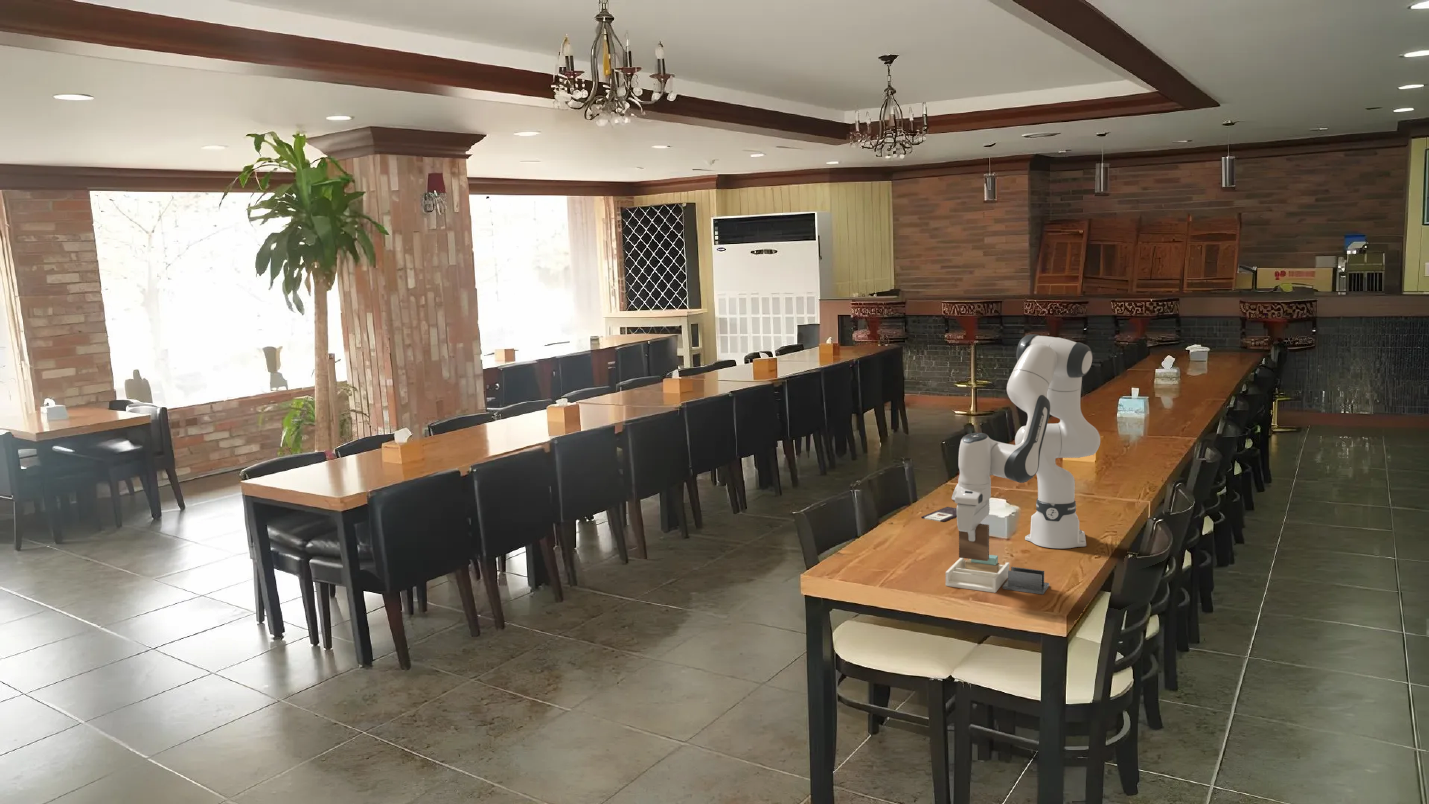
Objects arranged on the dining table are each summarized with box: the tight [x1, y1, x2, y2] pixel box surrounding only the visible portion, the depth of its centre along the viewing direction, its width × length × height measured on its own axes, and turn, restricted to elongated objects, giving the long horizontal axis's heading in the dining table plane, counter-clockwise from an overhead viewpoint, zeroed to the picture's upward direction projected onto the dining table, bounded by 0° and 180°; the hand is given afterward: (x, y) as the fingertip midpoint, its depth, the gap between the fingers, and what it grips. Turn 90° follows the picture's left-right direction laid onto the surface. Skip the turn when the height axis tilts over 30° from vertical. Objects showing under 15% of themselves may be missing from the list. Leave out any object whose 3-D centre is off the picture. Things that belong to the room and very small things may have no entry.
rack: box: [945, 557, 1010, 594], centre depth 277 cm, size 16×14×4 cm
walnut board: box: [958, 523, 990, 561], centre depth 273 cm, size 2×8×10 cm, turn 60°
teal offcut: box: [971, 554, 999, 565], centre depth 281 cm, size 3×7×2 cm, turn 60°
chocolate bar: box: [920, 506, 957, 523], centre depth 349 cm, size 9×1×18 cm
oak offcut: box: [966, 559, 1000, 573], centre depth 281 cm, size 3×9×3 cm, turn 60°
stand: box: [1002, 566, 1050, 595], centre depth 270 cm, size 8×11×5 cm
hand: (974, 538), depth 273 cm, fingers closed on walnut board, 2 cm apart
